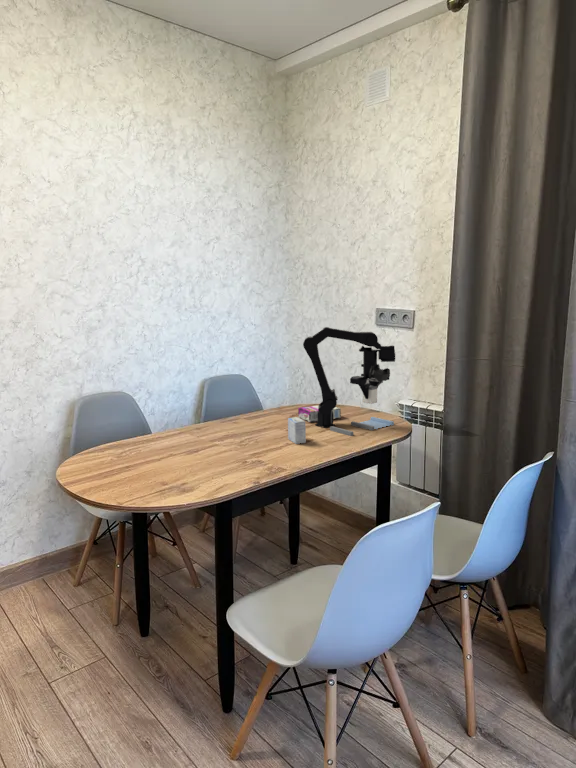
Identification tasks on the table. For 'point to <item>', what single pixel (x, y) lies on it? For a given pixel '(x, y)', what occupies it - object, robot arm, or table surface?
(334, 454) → the table surface
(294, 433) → the medicine box
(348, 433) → the rail tray
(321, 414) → the robot arm
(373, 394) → the grey chamfered block
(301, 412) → the candy bar box
